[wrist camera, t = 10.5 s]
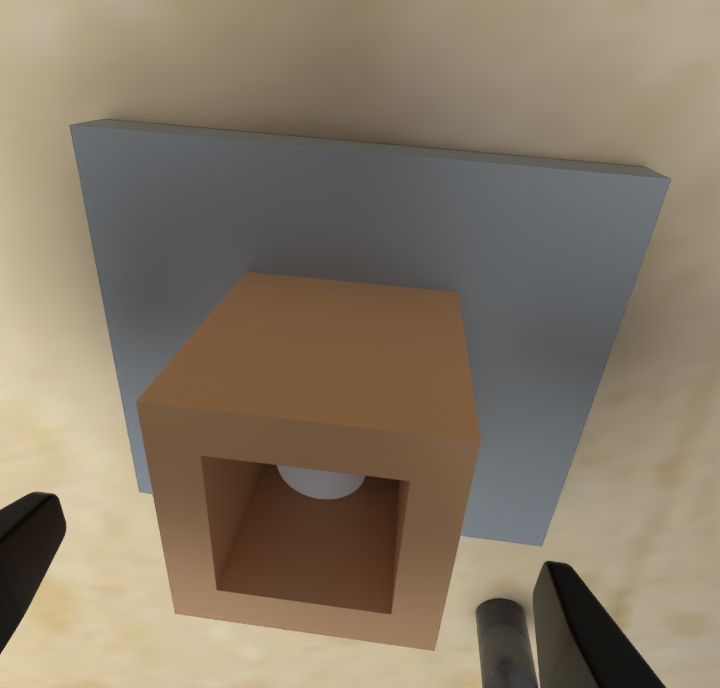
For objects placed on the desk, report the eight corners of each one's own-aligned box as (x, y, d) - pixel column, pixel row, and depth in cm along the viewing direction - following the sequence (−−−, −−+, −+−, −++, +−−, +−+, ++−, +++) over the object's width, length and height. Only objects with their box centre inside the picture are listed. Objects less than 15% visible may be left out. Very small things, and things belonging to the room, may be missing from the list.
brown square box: (458, 292, 13) (480, 441, 8) (431, 458, 16) (434, 650, 11) (246, 272, 14) (136, 401, 8) (254, 437, 16) (175, 613, 11)
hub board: (645, 167, 13) (779, 229, 8) (533, 512, 19) (572, 668, 14) (103, 119, 14) (-70, 149, 9) (158, 463, 19) (71, 594, 15)
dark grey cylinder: (529, 603, 21) (554, 727, 17) (519, 632, 22) (539, 757, 18) (480, 596, 21) (493, 718, 17) (471, 626, 22) (482, 747, 18)
